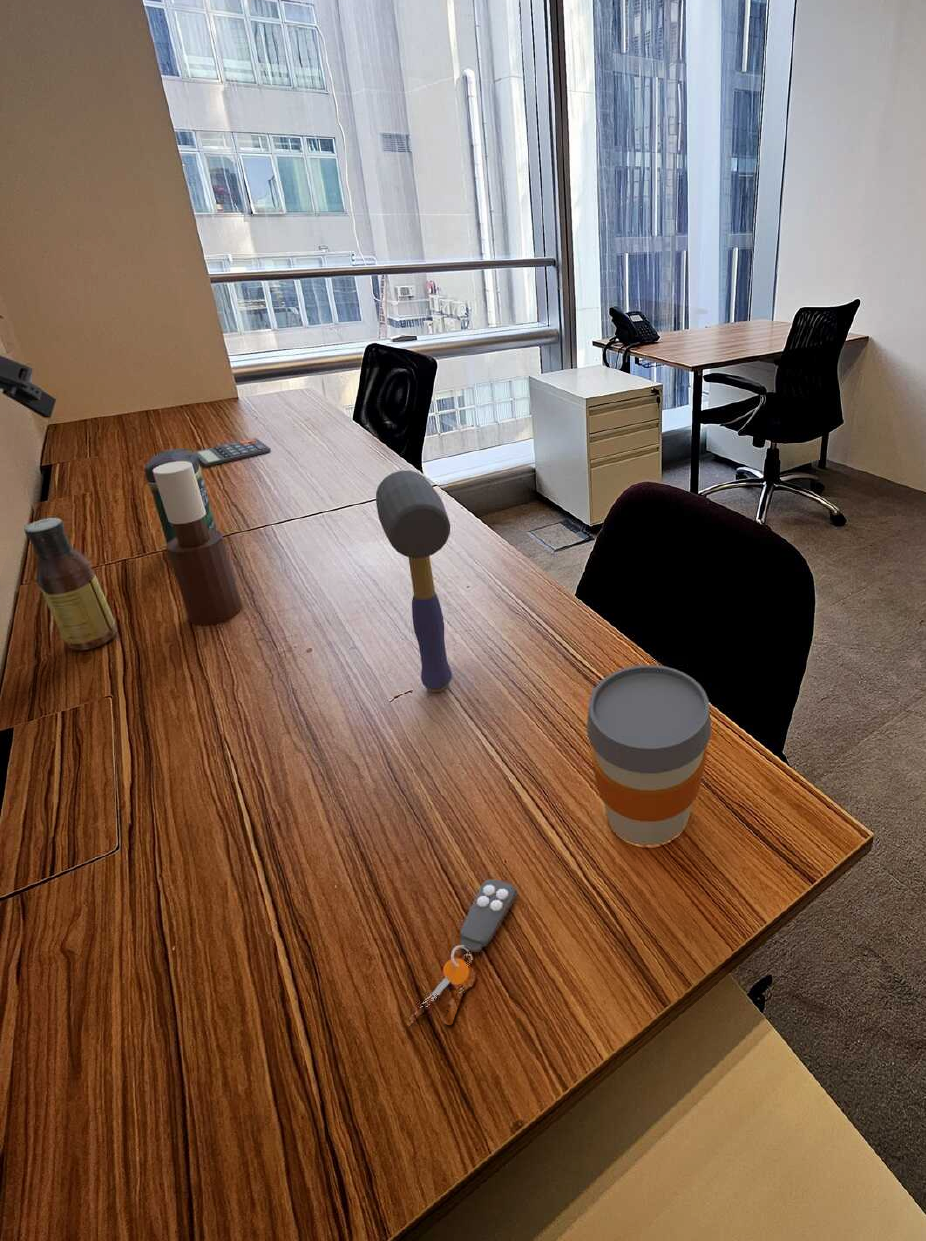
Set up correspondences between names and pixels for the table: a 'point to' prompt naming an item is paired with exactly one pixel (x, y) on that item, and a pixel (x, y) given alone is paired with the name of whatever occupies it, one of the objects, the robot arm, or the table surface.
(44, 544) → the sauce bottle
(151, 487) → the coffee jar
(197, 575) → the bottle
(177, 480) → the bung
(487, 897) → the key chain
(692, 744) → the reusable coffee cup
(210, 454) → the calculator
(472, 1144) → the table surface
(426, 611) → the rubber mallet
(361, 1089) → the table surface
